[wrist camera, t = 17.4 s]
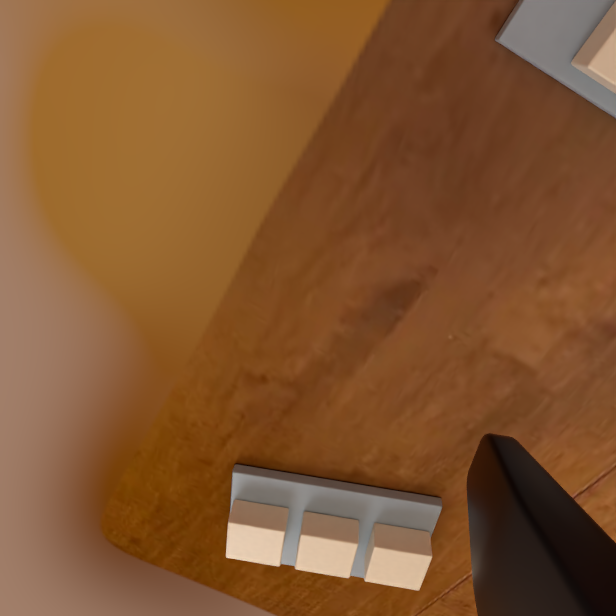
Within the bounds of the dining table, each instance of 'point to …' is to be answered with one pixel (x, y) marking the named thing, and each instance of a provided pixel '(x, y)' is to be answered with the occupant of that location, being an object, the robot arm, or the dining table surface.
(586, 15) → the grey plate with pegs
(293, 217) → the dining table surface
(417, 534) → the tray with three cubes
